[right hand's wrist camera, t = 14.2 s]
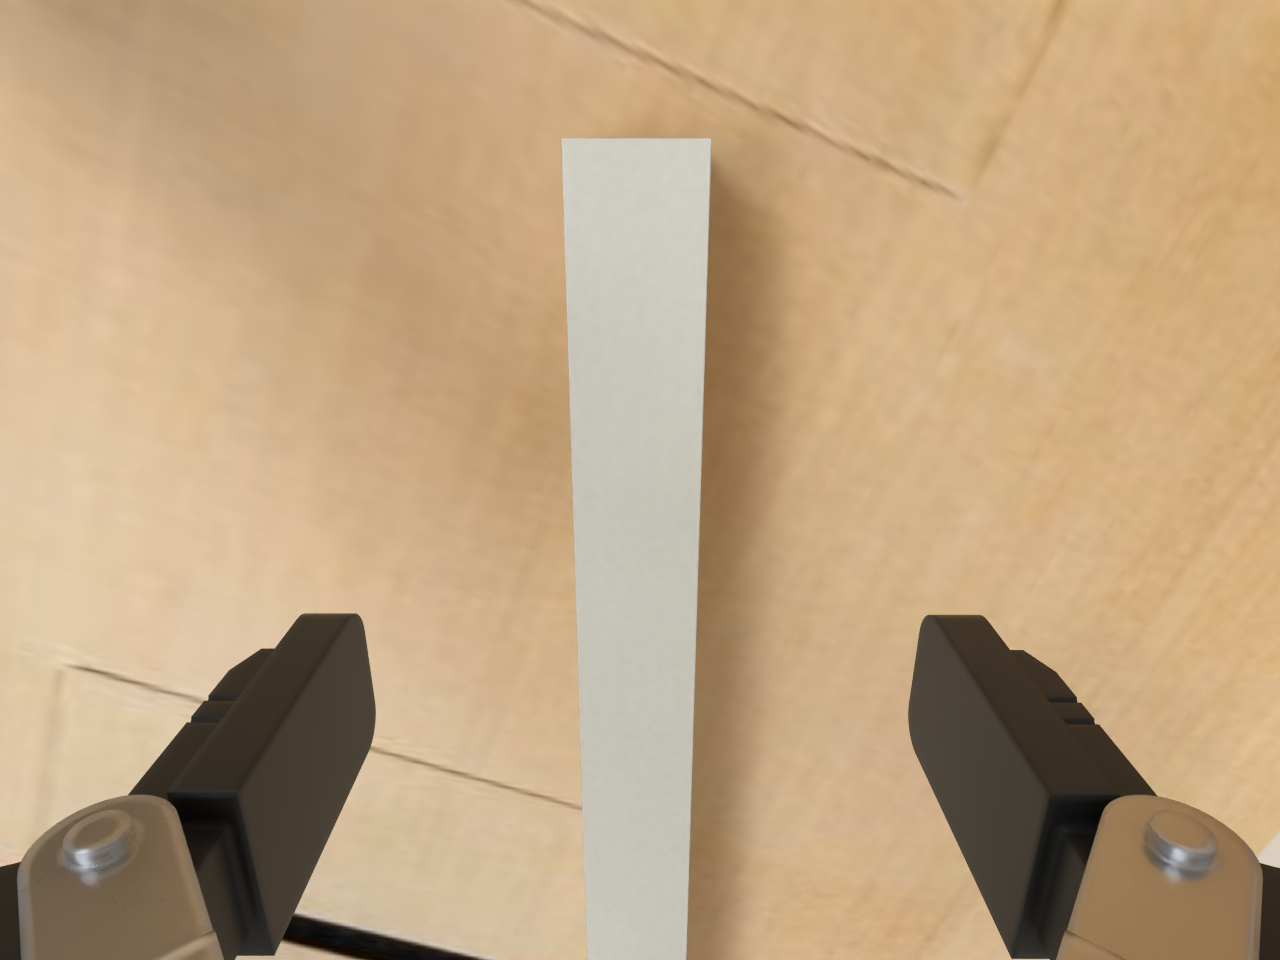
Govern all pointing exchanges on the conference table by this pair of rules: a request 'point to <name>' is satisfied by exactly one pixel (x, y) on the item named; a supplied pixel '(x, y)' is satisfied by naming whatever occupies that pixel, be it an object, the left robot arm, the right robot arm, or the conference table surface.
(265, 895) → the right robot arm
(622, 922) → the beam
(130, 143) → the conference table surface
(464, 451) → the conference table surface
